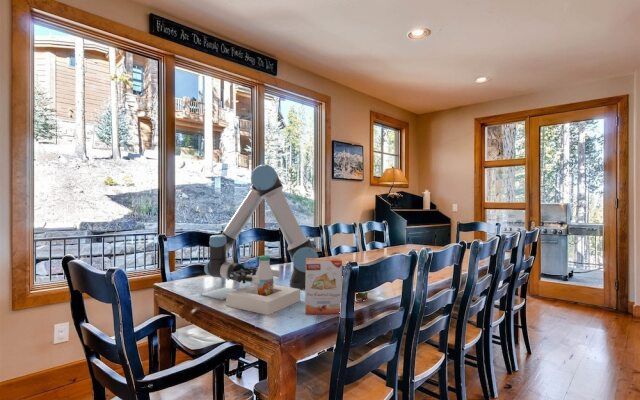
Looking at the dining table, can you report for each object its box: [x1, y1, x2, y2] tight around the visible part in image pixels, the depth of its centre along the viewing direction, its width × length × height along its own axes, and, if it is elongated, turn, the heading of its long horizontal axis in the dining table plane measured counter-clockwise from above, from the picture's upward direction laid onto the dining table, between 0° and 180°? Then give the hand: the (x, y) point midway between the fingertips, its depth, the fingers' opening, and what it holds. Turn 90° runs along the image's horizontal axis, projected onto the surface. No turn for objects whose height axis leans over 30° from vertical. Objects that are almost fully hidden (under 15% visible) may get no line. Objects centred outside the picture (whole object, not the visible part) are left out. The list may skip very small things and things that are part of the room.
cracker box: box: [304, 257, 343, 315], centre depth 134 cm, size 14×6×21 cm, turn 95°
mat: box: [200, 287, 237, 301], centre depth 159 cm, size 14×14×1 cm
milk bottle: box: [254, 254, 274, 296], centre depth 145 cm, size 8×8×20 cm
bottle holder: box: [225, 284, 301, 316], centre depth 145 cm, size 22×22×5 cm
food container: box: [356, 291, 369, 301], centre depth 152 cm, size 12×6×10 cm, turn 168°
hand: (269, 276), depth 144 cm, fingers open, 13 cm apart
